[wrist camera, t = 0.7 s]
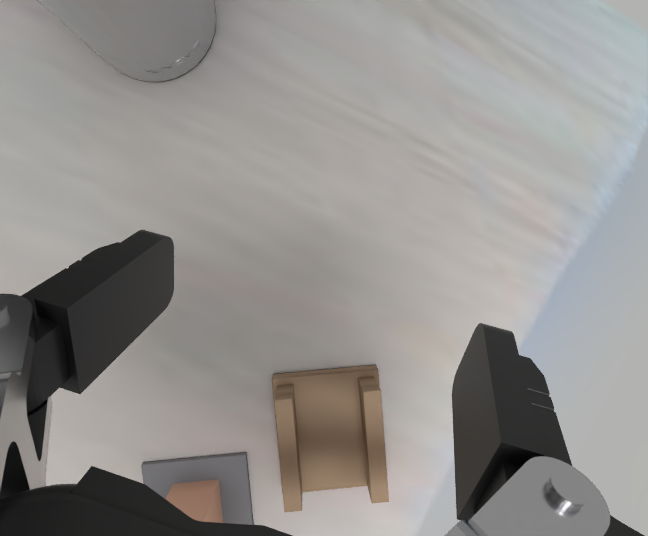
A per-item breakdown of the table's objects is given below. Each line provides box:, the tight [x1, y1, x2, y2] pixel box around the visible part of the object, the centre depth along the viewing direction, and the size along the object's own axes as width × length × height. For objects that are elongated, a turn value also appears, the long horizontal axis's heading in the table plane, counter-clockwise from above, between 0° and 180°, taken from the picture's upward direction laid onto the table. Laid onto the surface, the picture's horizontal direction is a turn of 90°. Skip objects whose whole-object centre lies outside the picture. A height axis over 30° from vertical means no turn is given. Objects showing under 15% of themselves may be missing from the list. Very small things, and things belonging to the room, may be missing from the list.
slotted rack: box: [272, 365, 389, 512], centre depth 32 cm, size 9×8×4 cm
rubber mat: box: [141, 452, 253, 525], centre depth 34 cm, size 8×8×1 cm
